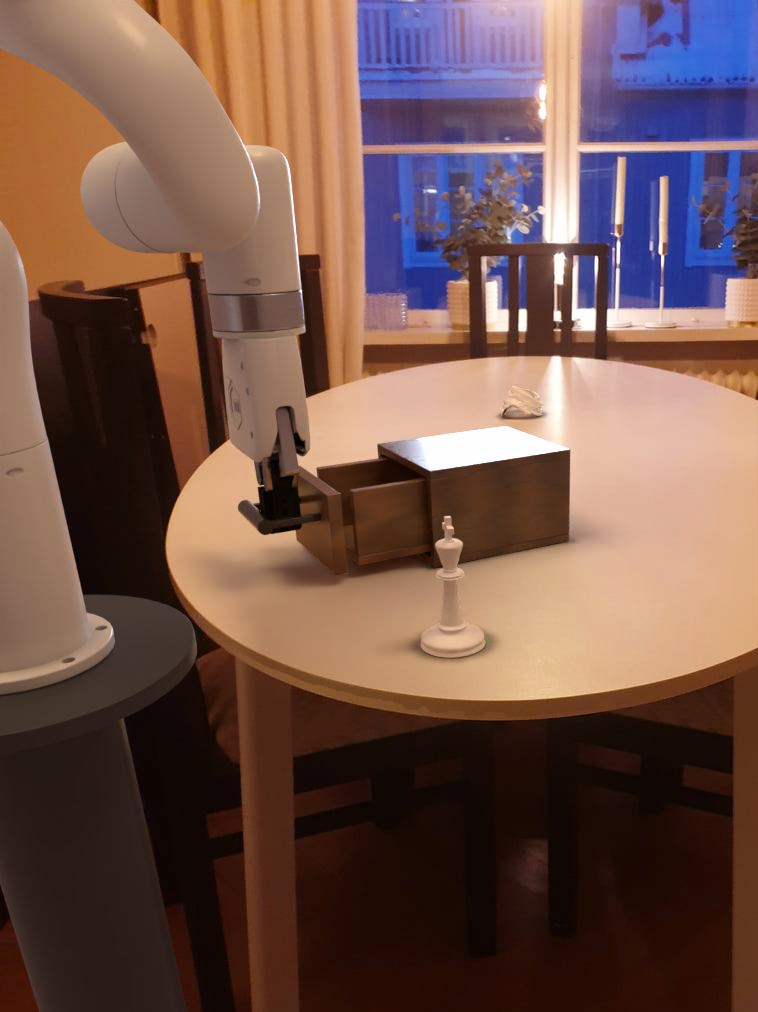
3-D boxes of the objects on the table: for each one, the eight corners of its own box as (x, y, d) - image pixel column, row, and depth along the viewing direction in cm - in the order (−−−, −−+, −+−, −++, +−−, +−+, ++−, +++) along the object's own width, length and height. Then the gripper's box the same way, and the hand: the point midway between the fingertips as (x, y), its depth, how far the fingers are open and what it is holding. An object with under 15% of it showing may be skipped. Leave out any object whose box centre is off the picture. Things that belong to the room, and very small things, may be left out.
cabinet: (434, 568, 86) (429, 471, 82) (383, 531, 96) (376, 443, 92) (569, 541, 92) (570, 449, 88) (507, 509, 102) (506, 425, 98)
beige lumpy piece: (504, 415, 152) (501, 385, 151) (545, 411, 151) (542, 380, 150) (499, 422, 145) (495, 390, 143) (542, 418, 144) (539, 385, 142)
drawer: (271, 588, 80) (261, 506, 77) (238, 550, 89) (228, 475, 86) (471, 549, 87) (469, 473, 84) (422, 518, 97) (418, 448, 94)
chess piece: (474, 626, 73) (471, 504, 69) (493, 652, 69) (490, 522, 65) (414, 635, 72) (406, 511, 68) (429, 662, 68) (422, 531, 64)
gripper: (192, 312, 81) (221, 515, 89) (234, 326, 69) (264, 560, 77) (276, 306, 84) (298, 503, 92) (331, 319, 72) (350, 545, 80)
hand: (282, 529), depth 84 cm, fingers closed
